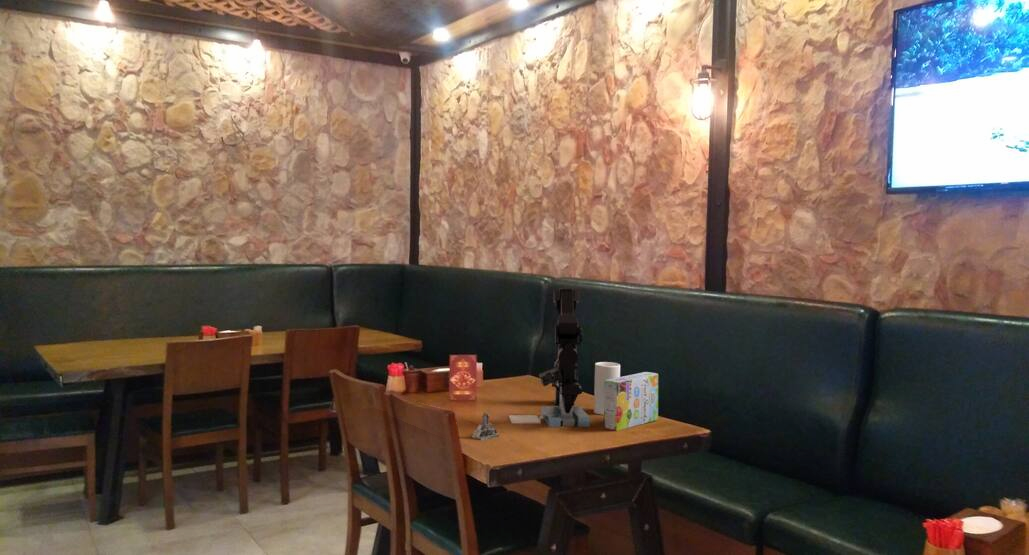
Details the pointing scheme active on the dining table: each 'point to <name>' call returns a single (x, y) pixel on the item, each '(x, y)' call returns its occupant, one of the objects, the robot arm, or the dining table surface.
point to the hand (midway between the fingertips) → (566, 411)
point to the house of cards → (485, 429)
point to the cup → (603, 373)
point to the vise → (554, 419)
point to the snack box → (630, 400)
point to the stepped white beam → (565, 414)
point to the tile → (524, 419)
